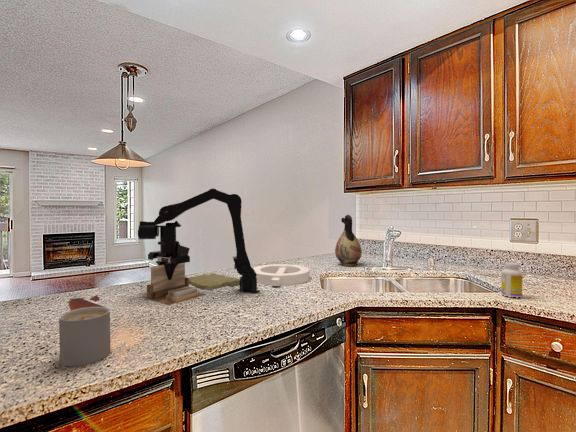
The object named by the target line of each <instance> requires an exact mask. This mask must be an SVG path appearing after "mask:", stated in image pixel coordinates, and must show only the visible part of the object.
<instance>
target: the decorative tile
mask: <svg viewBox="0 0 576 432" xmlns="http://www.w3.org/2000/svg"><path fill="white" fill-rule="evenodd" d="M188 278H189V285H190V286H191V287H194V288H197V289H202V290H207V291H214V290H216V289H217V290H218V289H222V288H225V287H231V288H234V286H235V287H239V286H240V278H237V277H233V276H229V275H224V274H217V273H215V272H213V273H209V274H207V273H205V274H200V275H195V276H190V277H188Z"/></svg>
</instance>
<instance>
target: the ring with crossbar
mask: <svg viewBox="0 0 576 432" xmlns="http://www.w3.org/2000/svg"><path fill="white" fill-rule="evenodd" d="M252 268H253V269H254V270H255V272H256V274H257V275H256V277H257V284H260V285H264V284H265V286H270V287H271V286H272V287H280V286H281V287H282V286H283V287H284V286H285V287H286V286H294V285H295V286H297V285H301V284H304V283H305V284H306V283H307V282H308V281H310V277H311V276H310V274H311V273H310V272H311V270H310V268H309V267H307V266H303V265H299V264H285V263H283V264H282V263H279V264H277V263H276V264H275V263H274V264H263V265H259V266H255V267H252Z"/></svg>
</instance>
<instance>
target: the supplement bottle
mask: <svg viewBox="0 0 576 432" xmlns="http://www.w3.org/2000/svg"><path fill="white" fill-rule="evenodd" d="M504 267H505V268H504V269H502V270H501V287H500V288H501V291H500V293H501V296H503V295H505V296H510V297H521V298H522V297H523V272H522V270H520V269H519V268H520V263H516V262H504ZM505 296H504V297H505Z"/></svg>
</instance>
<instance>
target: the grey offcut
mask: <svg viewBox="0 0 576 432" xmlns="http://www.w3.org/2000/svg"><path fill="white" fill-rule="evenodd" d="M196 292H198V288H197V287H195V286H190V285H189V286H187V287H183V288H179V289H175V290H171V291H168V295H169V296H173V297H181V296H185V295H189V294H192V293H196Z"/></svg>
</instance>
